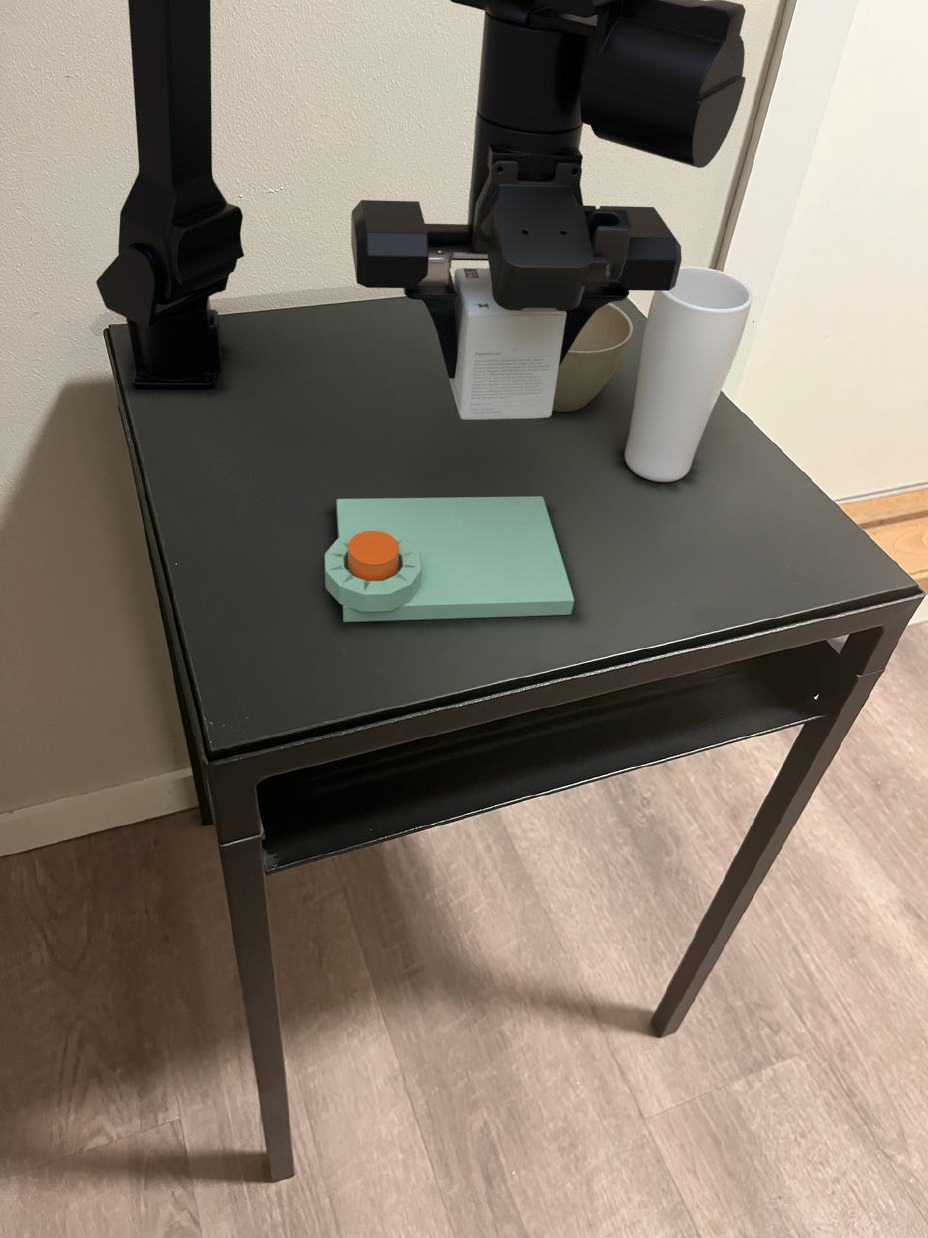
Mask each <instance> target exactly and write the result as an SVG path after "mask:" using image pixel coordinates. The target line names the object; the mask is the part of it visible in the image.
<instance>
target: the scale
mask: <svg viewBox="0 0 928 1238" xmlns="http://www.w3.org/2000/svg"><path fill="white" fill-rule="evenodd" d="M335 502H336V526H337V539H336V540H335V541H334V542H333V543H332V544H331V546H330V547H329V548H328V549H327V551H325V553H324V585H325V589H326V590H327V592H328V593H329V594H330V595H331V596H332V597H333V598H334V599H335V600H336V601H337V603H339V604H340V605H342V621H343V622H344V623H358V622H360V623H361V622H391V621H419V620H420V621H422V620H423V621H424V620H450V619H452V620H454V619H481V618H482V619H484V618H485V619H486V618H513V617H542V616H543V617H544V616H545V617H546V616H571V615H572V612H573V608H574V604H575V598H574V593H573V592H572V588H571V584H570V581H569V577H568V574H567V571H566V567H565V564H564V562H563V558H562V555H561V551H560V548H559V545H558V541H557V538H556V535H555V531H554V528H553V526H552V521H551V518H550V515H549V511H548V508H547V505H546V502H545V498H544V496H541V495H539V496H538V495H537V496H533V495H532V496H531V495H530V496H475V497H474V496H466V497H465V496H461V497H455V496H454V497H384V498H382V497H381V498H379V497H377V498H373V497H372V498H336V501H335ZM365 531H380V532H384V533H387V534H389V535H391V536H392V537H393V538H394V539H395V540H396V541H397V543H398V545H399V559H398V569H397V571H396V572H395V574H394V575H393V576H391V577H390V578H388V579H386V580H382V581H366V580H363V579H360V578H357V577H356V576H354V575H353V574H352V573H351V571H350V570H349V567H348V544H349V542H350V540H351V539H352V538H353V537H354V536H355V535H357V534H359V533H361V532H365Z"/></svg>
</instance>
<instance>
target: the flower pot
mask: <svg viewBox="0 0 928 1238" xmlns="http://www.w3.org/2000/svg"><path fill="white" fill-rule="evenodd" d="M633 332H634V326H633V322H632V320H631V318H630V317H629V315H628V314H627V313H625V312H624V311H623V310H622V309H621V308H620V307H618V306H617V305H615V304H613V303H612V302H610V303H608V304H607V305H605V306H603V307H601V308H599V309H598V310H596V311H595V312H594V314H593V315H592V316H591V318H590V319H589V320H588V321H587V323H586V324H585V325H584V327H583V328H582V330H581V331H580V333H579V334H578V336H577V337H576V339H575V341H574V343H573V344H572V346H571V348H570V349H569V351H568V353H567V354H566V356H565V358H564V359H563V361H562V363H561V365H560V366H559V368H558V375H557V382H556V388H555V395H554V402H553V409H552V412H561V413H569V412H574V411H579V410H580V409H583V408H584V407H585V406H587V404H589V402H591V401H592V400H593V399H594V398H595V397H596V396H597V395H598V394H599V393H600V392H601V391H602V389H603V388H604V387H605V386H606V384H607V383H608V382H609V380H610V379H612V376H613V375H614V373H615V371H616V370H617V368H618V366H619V365H620V363H621V361H622V359H623V357H624V355H625V353H626V351H627V349H628V346H629V344H630V341H631V338H632V336H633Z"/></svg>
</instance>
